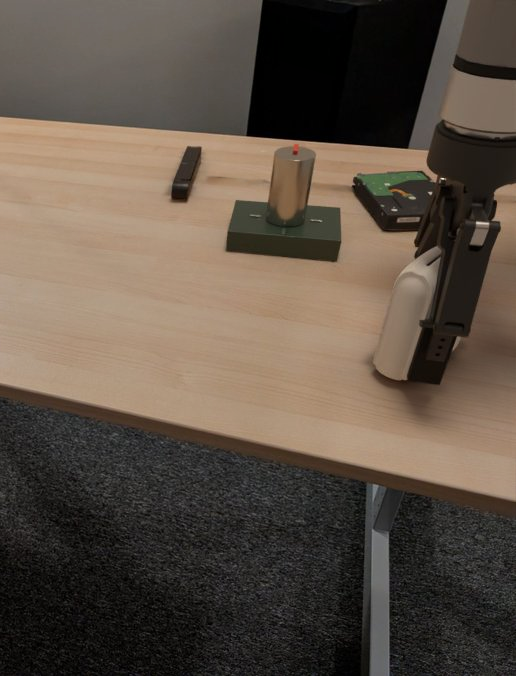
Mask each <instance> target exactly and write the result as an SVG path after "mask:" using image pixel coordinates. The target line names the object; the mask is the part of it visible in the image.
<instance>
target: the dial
mask: <svg viewBox="0 0 516 676" xmlns="http://www.w3.org/2000/svg"><path fill="white" fill-rule="evenodd" d="M316 157H317V153H316V151H315V150H313V149H311V148H308V147H304V146H300V144H299V143H294V144H293V146H292V145H291V146H290V145H288V146H282V147H279V148H277V149H275V151H274V152H273V160H272V168H271V175H270V176H271V177H270V182H269V189H268V190H269V191H268V199H267V202H268V205H267V213H266V219H267V221H268V222H270V223H272V224H274V225H277V226H283V227H293V226H298V225H301V224H302V223H304V221H305V217H306V211H307V205H308V204H309V199H310V194H311V193H310V192H311V188H312V180H313V175H314V170H315V163H316Z"/></svg>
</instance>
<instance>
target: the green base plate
mask: <svg viewBox="0 0 516 676" xmlns="http://www.w3.org/2000/svg"><path fill="white" fill-rule="evenodd" d="M267 205H268V201H258V200H257V201H254V200H242V199H241V200H240V199H235V202H234V206H233V209H232V213H231V217H230V220H229V225H228V228H227V233H226V244H225V252H233V253H243V254H253V255H263V256H272V257H273V256H276V257H284V258H285V257H287V258H296V259H306V260H315V261H326V262H338V258H339V256H340V255H339V254H340V250H341V244H342V218H341V217H342V215H341V207H336V206H324V205H323V206H322V205H311V204H309V205H307V211H306V217H305V221H304V223H302V224H301V225H298V226H293V227H283V226H277V225H274V224H272V223H270V222H268V221H267V219H266V213H267Z"/></svg>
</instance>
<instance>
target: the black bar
mask: <svg viewBox="0 0 516 676" xmlns="http://www.w3.org/2000/svg"><path fill="white" fill-rule="evenodd" d="M202 149H203V148H202V146H197V145H187V146H186V148H185V150H184V153H183V155H182V158H181V160H180V163H179V166H178V168H177V171H176V173H175V175H174V178H173V180H172V185H171V195H170V196H171V200H180V201H189V198H190V195H191V192H192V189H193V185H194V182H195V179H196V176H197V174H198V171H199V168H200V164H201V162H202Z"/></svg>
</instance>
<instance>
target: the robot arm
mask: <svg viewBox="0 0 516 676" xmlns="http://www.w3.org/2000/svg"><path fill="white" fill-rule="evenodd" d="M450 65H451V66H450V69H449V72H448V77H447V81H446V84H445V88H444V91H443V96H442V99H441V102H440V107H439V110H438V115H439V116H440V118H441V120H440V121H439V122H437V124H435V127H434V131H433V134H432V138H431V141H430V146H429V149H428V152H427V156H426V161H425V162H426V166H427V168H428V169H429V171H431V172H432V173H433V174H434V175H436V180H435V183H436V184H435V186H434V189H433V192H432V195H431V197H430V200H429V203H428V206H427V208H426V211H425V214H424V217H423V219H422V222H421V225H420V228H419V230H418V231H417V233H416V236H415V238H414V240H413V244H414V248H416V250H415V251H414V255H413V257H414V260H415V259H416V258H418V257H419V256H421V255H422V254H424V253H425V252H427V251H429V250H430V249H432V248H434V247H436V246H438V248H440V249H441V251H442V253H441V258H440V264H439V269H438V275H437V282H436V288H435V293H434V297H433V302H432V308H431V313H430V318H429V320H427V319H425V320H420V321H419V326H420V327H422V330H421V333H420V337H419V340H418V343H417V346H416V349H415V352H414V355H413V358H412V362H411V365H410V368H409V371H408V374H407V380H406V381H408V382H413V383H420V384H427V385H428V384H429V385H435V386H440V385H441V382H442V381H443V377H444V374H445V372H446V369H447V367H448V363H449V361H450V357H451V355H452V352H453V351H452V349H453V347H454V344H455V341H456V338H457V336H458V337H461V338H468V337H469V336H470V334H471V329H472V326H473V325H472V324H473V321H474V317H475V314H476V310H477V306H478V303H479V299H480V295H481V291H482V287H483V284H484V280H485V277H486V274H487V269H488V266H489V263H490V258H491V255H492V251H493V249H494V246H495V244H496V242H497V238H498V236H499V233H501V231H502V226H501V221H500V220H494V219H495V217H496V213H497V209H498V200H497V199H495V193H496V191H497V190H499V189H500V188H503V187H505V186H509V185H516V0H469V1H468V6H467V9H466V14H465V16H464V21H463V25H462V29H461V33H460V37H459V41H458V44H457V49H456V51H455V55H454V60H453V62H452V63H451V64H450ZM454 240H455V241H454Z"/></svg>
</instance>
